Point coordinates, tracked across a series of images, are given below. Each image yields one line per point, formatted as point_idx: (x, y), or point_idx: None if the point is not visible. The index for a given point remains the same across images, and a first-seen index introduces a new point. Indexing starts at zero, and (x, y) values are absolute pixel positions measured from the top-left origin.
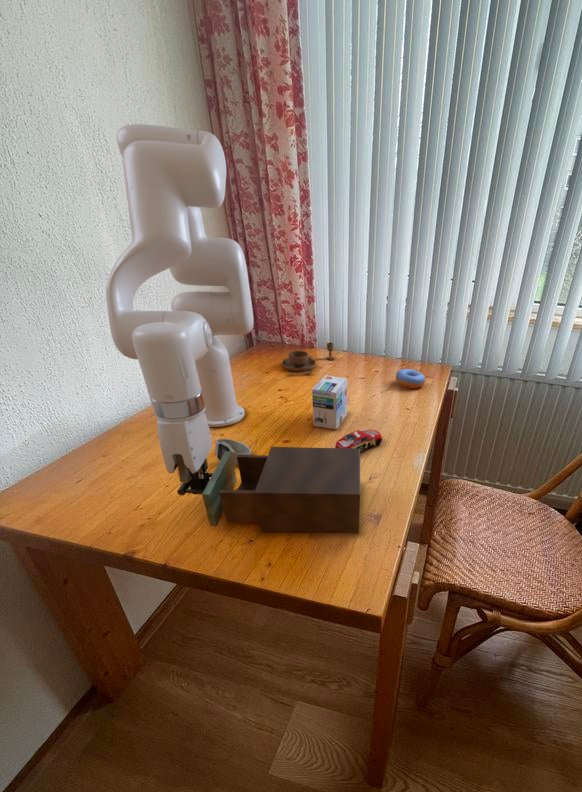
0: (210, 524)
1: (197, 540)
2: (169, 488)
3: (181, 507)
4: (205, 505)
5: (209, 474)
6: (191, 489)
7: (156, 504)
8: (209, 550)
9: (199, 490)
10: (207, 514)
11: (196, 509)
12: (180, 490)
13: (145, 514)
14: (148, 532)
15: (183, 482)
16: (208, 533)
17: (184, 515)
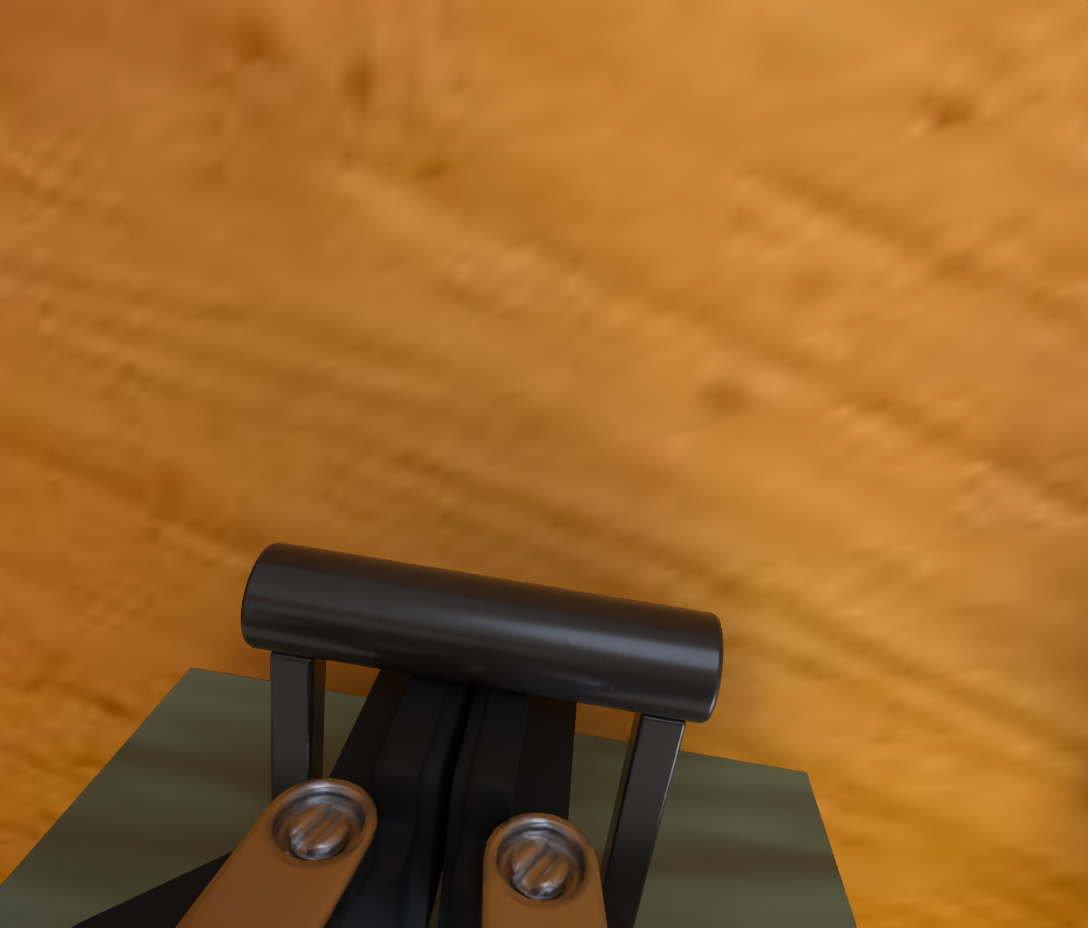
0: (177, 685)
1: (104, 563)
2: (890, 155)
3: (514, 366)
4: (22, 864)
5: (611, 864)
6: (292, 717)
7: (596, 85)
8: (21, 648)
9: (274, 795)
10: (108, 763)
11: (472, 502)
12: (243, 614)
13: (430, 10)
14: (162, 140)
15: (410, 632)
16: (181, 624)
17: (394, 416)
